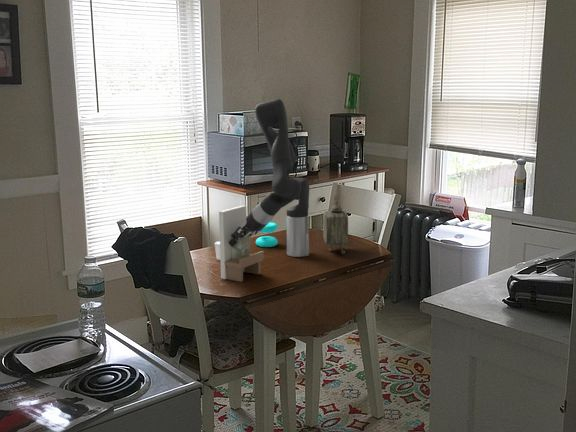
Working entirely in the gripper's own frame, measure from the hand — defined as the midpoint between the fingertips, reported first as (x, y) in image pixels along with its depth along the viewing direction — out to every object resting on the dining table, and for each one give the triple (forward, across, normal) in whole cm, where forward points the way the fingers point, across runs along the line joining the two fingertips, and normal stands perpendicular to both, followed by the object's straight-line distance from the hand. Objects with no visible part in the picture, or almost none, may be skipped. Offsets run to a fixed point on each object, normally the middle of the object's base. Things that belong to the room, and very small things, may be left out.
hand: (237, 242), depth 242 cm
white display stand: (+8, 0, +10) cm, 13 cm away
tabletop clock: (-1, -51, +19) cm, 54 cm away
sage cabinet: (+3, 0, +6) cm, 6 cm away
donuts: (+22, -44, -3) cm, 49 cm away
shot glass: (+24, -16, -5) cm, 29 cm away
